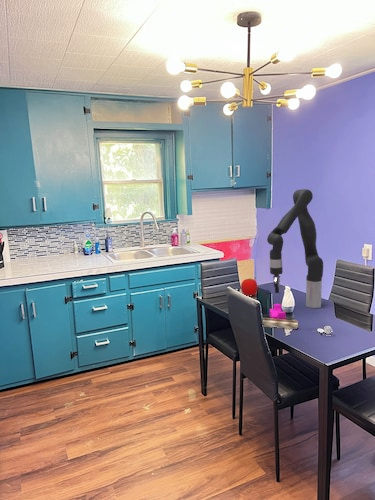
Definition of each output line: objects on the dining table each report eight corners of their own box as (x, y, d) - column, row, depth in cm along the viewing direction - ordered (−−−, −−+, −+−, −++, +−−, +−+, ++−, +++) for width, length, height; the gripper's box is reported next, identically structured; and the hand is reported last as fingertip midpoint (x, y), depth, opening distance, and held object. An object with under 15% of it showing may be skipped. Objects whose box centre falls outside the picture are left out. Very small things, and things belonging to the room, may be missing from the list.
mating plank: (297, 327, 207) (297, 320, 207) (297, 329, 204) (297, 323, 203) (261, 323, 214) (261, 317, 214) (260, 326, 211) (260, 320, 210)
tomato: (261, 296, 264) (261, 278, 261) (248, 299, 258) (248, 281, 255) (249, 291, 274) (249, 275, 272) (237, 295, 268) (237, 278, 266)
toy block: (269, 315, 226) (269, 304, 225) (279, 315, 226) (279, 303, 225) (274, 325, 212) (274, 313, 210) (285, 325, 211) (285, 312, 210)
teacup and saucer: (314, 332, 201) (315, 325, 200) (326, 329, 203) (327, 322, 202) (326, 338, 192) (326, 331, 192) (338, 335, 195) (338, 328, 194)
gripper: (281, 268, 221) (282, 296, 224) (283, 263, 233) (284, 289, 237) (268, 268, 224) (269, 296, 227) (271, 263, 236) (272, 289, 239)
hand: (277, 292), depth 232 cm, fingers closed
